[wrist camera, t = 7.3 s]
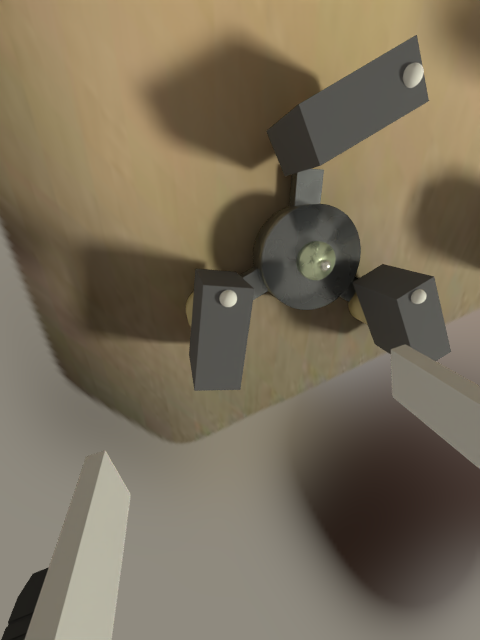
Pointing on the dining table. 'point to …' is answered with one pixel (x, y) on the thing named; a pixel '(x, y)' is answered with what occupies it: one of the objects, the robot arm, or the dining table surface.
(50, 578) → the robot arm
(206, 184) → the dining table surface
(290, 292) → the level base
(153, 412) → the dining table surface
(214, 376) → the knob
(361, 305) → the knob
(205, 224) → the dining table surface
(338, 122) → the grey block with dot
